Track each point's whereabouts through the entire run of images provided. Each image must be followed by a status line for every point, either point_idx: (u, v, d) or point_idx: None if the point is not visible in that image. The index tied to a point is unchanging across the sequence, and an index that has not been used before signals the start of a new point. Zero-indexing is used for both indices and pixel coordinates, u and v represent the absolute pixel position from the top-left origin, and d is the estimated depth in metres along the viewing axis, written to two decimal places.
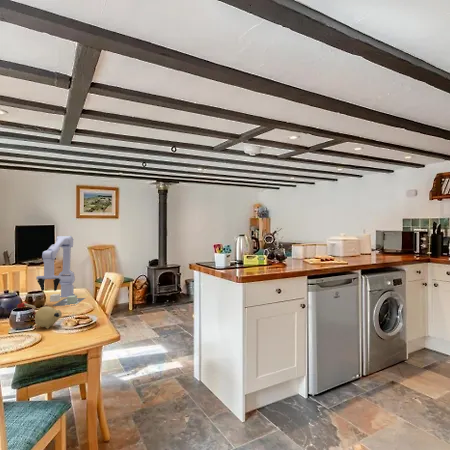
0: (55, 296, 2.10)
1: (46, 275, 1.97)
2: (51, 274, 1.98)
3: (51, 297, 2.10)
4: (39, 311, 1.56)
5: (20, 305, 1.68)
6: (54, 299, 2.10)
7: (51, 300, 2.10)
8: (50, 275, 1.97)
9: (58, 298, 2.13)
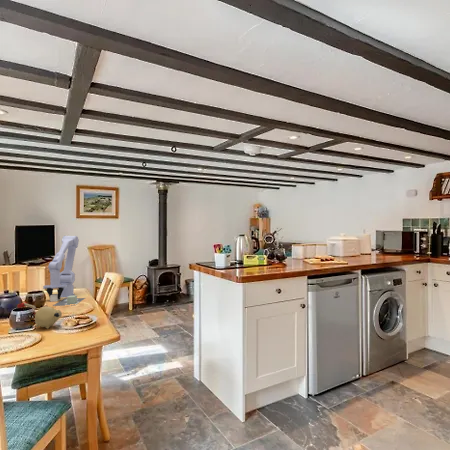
0: (55, 296, 2.10)
1: (52, 285, 2.10)
2: (57, 284, 2.11)
3: (51, 297, 2.10)
4: (39, 311, 1.56)
5: (20, 305, 1.68)
6: (54, 299, 2.10)
7: (51, 300, 2.10)
8: (56, 285, 2.11)
9: None
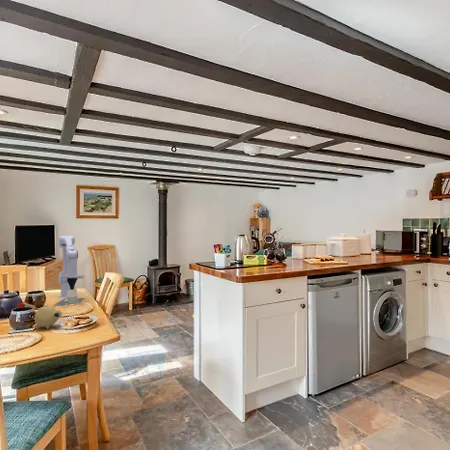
0: (72, 291, 2.04)
1: (69, 274, 2.03)
2: (74, 273, 2.04)
3: (68, 292, 2.04)
4: (39, 311, 1.56)
5: (20, 305, 1.68)
6: (71, 294, 2.04)
7: (68, 295, 2.04)
8: (73, 274, 2.04)
9: (75, 293, 2.06)
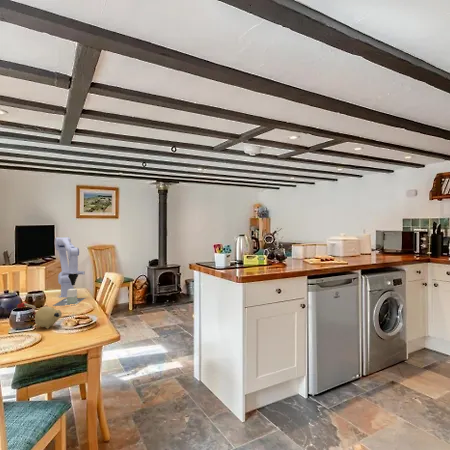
0: (72, 291, 2.04)
1: (71, 271, 2.13)
2: (75, 270, 2.14)
3: (68, 292, 2.04)
4: (39, 311, 1.56)
5: (20, 305, 1.68)
6: (71, 294, 2.04)
7: (68, 295, 2.04)
8: (74, 271, 2.14)
9: (75, 293, 2.06)
